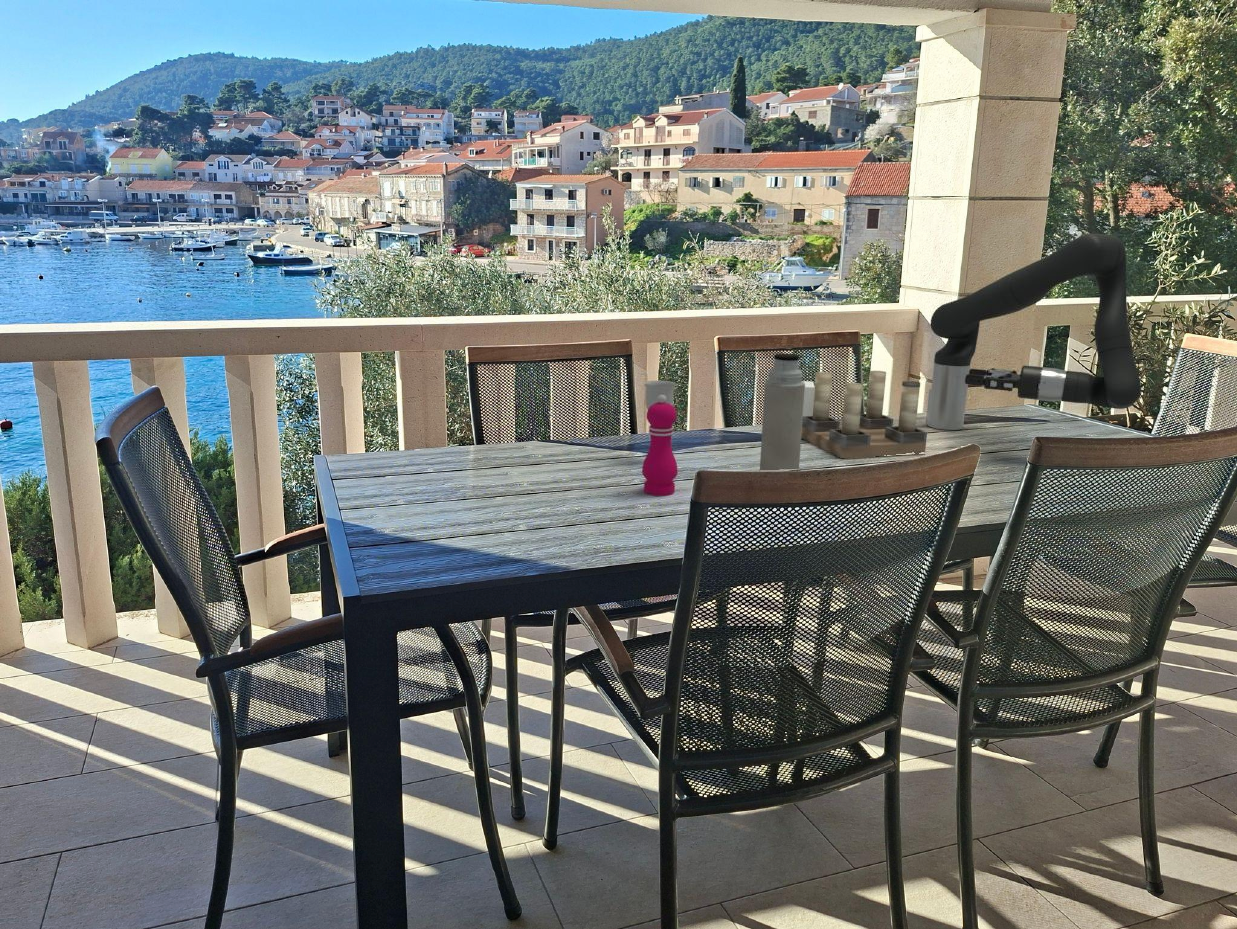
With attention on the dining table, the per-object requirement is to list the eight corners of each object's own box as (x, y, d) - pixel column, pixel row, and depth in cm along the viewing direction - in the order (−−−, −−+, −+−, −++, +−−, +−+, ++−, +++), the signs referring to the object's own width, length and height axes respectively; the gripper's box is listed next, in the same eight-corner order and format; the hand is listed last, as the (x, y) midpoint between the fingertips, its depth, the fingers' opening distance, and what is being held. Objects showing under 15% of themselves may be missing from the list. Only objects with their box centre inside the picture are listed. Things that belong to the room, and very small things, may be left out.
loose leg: (893, 438, 230) (899, 381, 227) (908, 437, 231) (914, 380, 228) (902, 442, 226) (908, 384, 223) (917, 441, 227) (923, 383, 224)
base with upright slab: (787, 424, 257) (790, 380, 254) (821, 425, 256) (824, 382, 253) (788, 431, 248) (791, 386, 245) (823, 433, 247) (826, 388, 244)
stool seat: (800, 437, 242) (804, 371, 238) (877, 433, 248) (883, 369, 243) (842, 459, 222) (848, 387, 217) (924, 454, 227) (932, 384, 223)
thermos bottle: (768, 480, 203) (776, 350, 195) (803, 487, 199) (813, 353, 191) (752, 489, 196) (760, 354, 189) (788, 496, 192) (797, 358, 185)
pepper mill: (663, 498, 189) (666, 399, 183) (634, 491, 193) (636, 395, 188) (683, 490, 194) (687, 394, 189) (654, 484, 198) (657, 390, 193)
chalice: (677, 459, 218) (680, 382, 214) (666, 466, 212) (669, 387, 208) (648, 455, 221) (650, 379, 217) (636, 462, 215) (638, 384, 211)
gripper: (1045, 362, 222) (972, 355, 229) (1043, 372, 210) (966, 364, 216) (1040, 394, 224) (968, 386, 231) (1038, 405, 212) (961, 397, 218)
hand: (967, 376), depth 223 cm, fingers open, 8 cm apart
